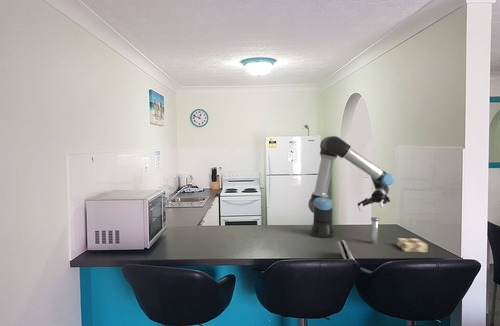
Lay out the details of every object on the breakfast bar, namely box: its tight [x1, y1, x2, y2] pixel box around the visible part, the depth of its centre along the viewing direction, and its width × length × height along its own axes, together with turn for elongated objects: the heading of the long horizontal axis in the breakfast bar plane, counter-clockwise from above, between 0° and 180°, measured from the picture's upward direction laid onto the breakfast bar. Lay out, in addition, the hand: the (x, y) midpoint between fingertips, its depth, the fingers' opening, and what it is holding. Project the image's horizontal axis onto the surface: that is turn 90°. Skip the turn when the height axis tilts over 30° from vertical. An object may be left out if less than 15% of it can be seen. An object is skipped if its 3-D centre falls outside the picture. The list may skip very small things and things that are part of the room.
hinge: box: [337, 239, 355, 260], centre depth 164 cm, size 17×5×10 cm, turn 172°
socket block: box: [396, 237, 429, 253], centre depth 182 cm, size 12×12×4 cm
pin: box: [370, 216, 380, 245], centre depth 191 cm, size 5×5×15 cm
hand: (369, 207), depth 198 cm, fingers open, 13 cm apart
